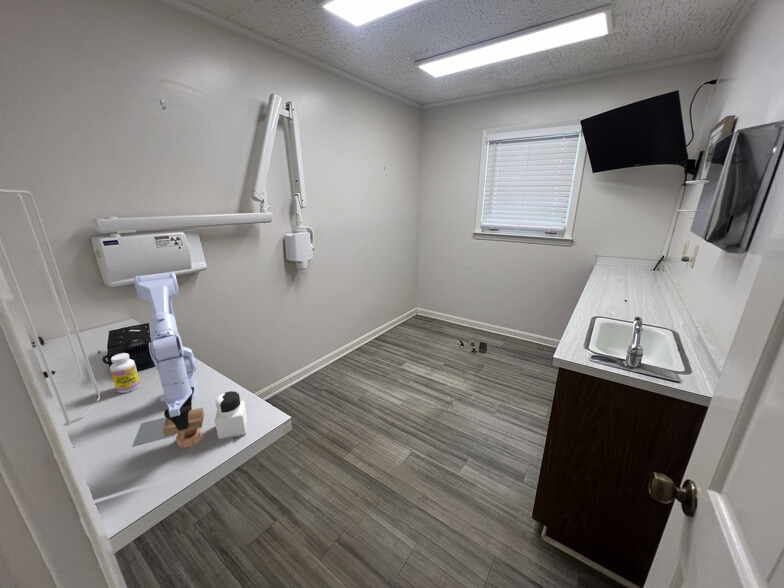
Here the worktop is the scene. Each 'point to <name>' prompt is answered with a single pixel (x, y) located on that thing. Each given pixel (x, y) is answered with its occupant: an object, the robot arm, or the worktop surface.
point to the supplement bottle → (124, 373)
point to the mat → (150, 432)
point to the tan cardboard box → (194, 422)
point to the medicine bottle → (230, 415)
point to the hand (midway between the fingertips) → (185, 421)
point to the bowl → (188, 441)
